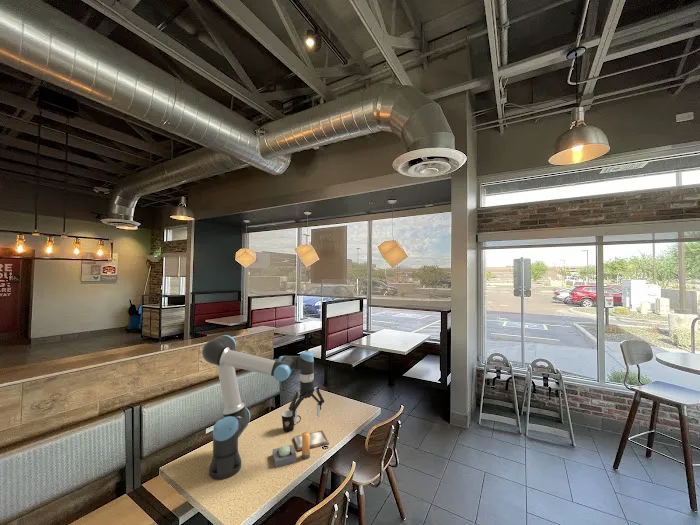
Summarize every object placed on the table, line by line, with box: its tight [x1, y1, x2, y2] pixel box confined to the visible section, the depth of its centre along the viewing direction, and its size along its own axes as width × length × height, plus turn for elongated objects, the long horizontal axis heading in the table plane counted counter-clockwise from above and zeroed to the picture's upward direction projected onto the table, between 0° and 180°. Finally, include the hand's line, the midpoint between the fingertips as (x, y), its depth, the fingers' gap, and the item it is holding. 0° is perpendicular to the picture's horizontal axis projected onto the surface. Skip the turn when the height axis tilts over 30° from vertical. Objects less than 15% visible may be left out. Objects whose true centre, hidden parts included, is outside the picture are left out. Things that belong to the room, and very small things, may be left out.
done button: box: [278, 445, 290, 458], centre depth 154 cm, size 6×6×3 cm
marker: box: [301, 431, 311, 460], centre depth 155 cm, size 4×4×12 cm
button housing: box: [272, 444, 298, 468], centre depth 154 cm, size 11×11×3 cm
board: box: [293, 430, 330, 452], centre depth 169 cm, size 18×14×2 cm
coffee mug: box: [281, 409, 302, 433], centre depth 182 cm, size 12×9×10 cm
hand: (307, 419), depth 159 cm, fingers open, 13 cm apart
